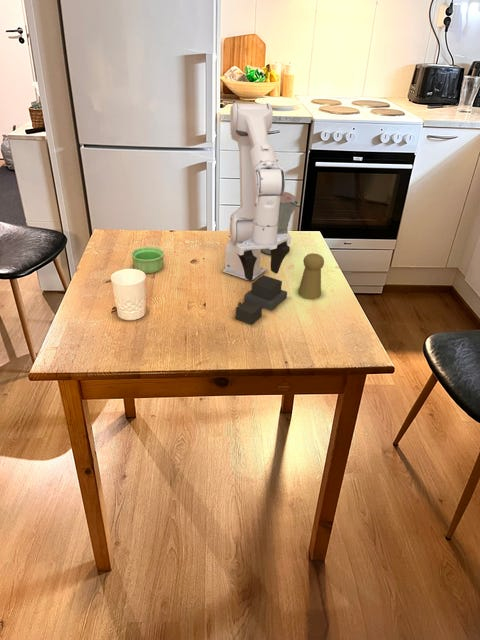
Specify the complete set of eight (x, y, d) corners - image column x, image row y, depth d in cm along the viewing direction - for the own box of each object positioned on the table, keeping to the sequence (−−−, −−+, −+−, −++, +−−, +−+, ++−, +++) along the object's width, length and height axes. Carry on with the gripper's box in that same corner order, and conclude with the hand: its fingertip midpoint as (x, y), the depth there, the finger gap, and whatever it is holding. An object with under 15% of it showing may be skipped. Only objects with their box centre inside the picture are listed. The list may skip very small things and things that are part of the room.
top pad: (235, 318, 120) (236, 307, 118) (245, 310, 123) (246, 299, 121) (251, 325, 118) (252, 313, 116) (261, 316, 121) (262, 305, 119)
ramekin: (170, 270, 140) (169, 255, 138) (140, 277, 136) (139, 262, 133) (156, 257, 146) (155, 244, 144) (127, 264, 142) (126, 250, 139)
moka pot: (286, 261, 148) (293, 196, 137) (242, 248, 154) (245, 184, 143) (300, 250, 155) (308, 187, 144) (257, 238, 161) (261, 177, 150)
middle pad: (251, 294, 126) (251, 283, 125) (262, 285, 130) (263, 274, 129) (270, 300, 124) (271, 289, 122) (281, 292, 128) (282, 281, 126)
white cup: (153, 308, 122) (151, 272, 117) (138, 324, 116) (135, 287, 110) (125, 302, 124) (122, 266, 119) (108, 317, 118) (104, 280, 112)
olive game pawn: (320, 300, 129) (325, 262, 123) (297, 297, 130) (301, 259, 124) (321, 289, 134) (327, 252, 128) (299, 286, 135) (303, 249, 129)
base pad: (244, 301, 127) (244, 294, 126) (260, 289, 133) (260, 282, 132) (271, 311, 124) (272, 304, 122) (286, 298, 129) (287, 291, 128)
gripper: (248, 234, 107) (245, 289, 114) (301, 222, 114) (295, 275, 121) (231, 223, 112) (229, 276, 119) (282, 212, 119) (278, 264, 126)
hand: (261, 275), depth 120 cm, fingers open, 7 cm apart
